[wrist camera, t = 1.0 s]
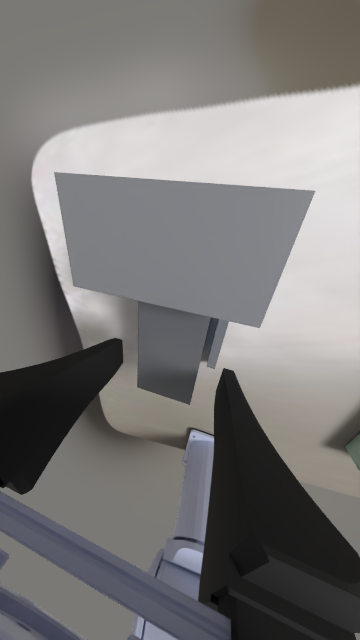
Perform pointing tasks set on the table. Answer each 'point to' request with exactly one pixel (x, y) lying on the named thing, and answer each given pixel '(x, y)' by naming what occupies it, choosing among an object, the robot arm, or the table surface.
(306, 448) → the table surface
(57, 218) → the table surface
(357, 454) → the tray
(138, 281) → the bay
